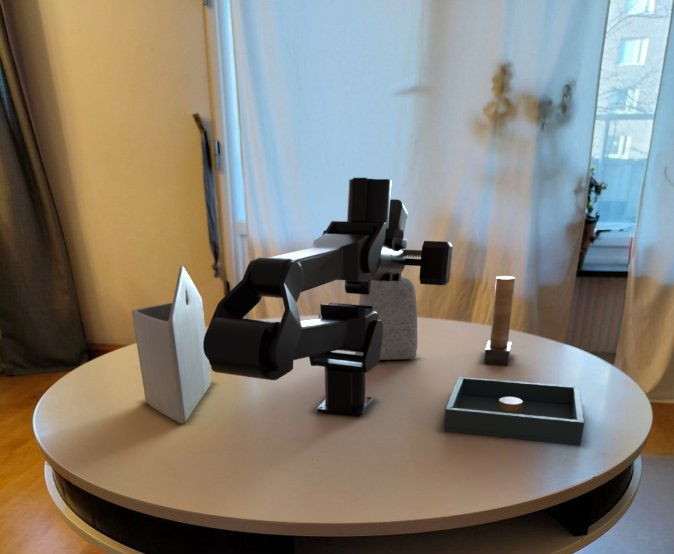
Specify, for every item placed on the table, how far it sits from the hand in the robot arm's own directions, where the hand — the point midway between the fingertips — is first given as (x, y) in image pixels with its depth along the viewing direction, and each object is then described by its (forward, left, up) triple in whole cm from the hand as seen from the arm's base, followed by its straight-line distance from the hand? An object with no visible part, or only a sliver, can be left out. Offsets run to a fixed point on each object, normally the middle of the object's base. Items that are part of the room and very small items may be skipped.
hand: (406, 262), depth 101 cm
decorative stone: (0, +3, -17) cm, 17 cm away
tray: (-23, -20, -16) cm, 35 cm away
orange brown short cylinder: (-23, -19, -16) cm, 34 cm away
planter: (-30, +28, -17) cm, 45 cm away
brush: (+4, -16, -16) cm, 23 cm away
